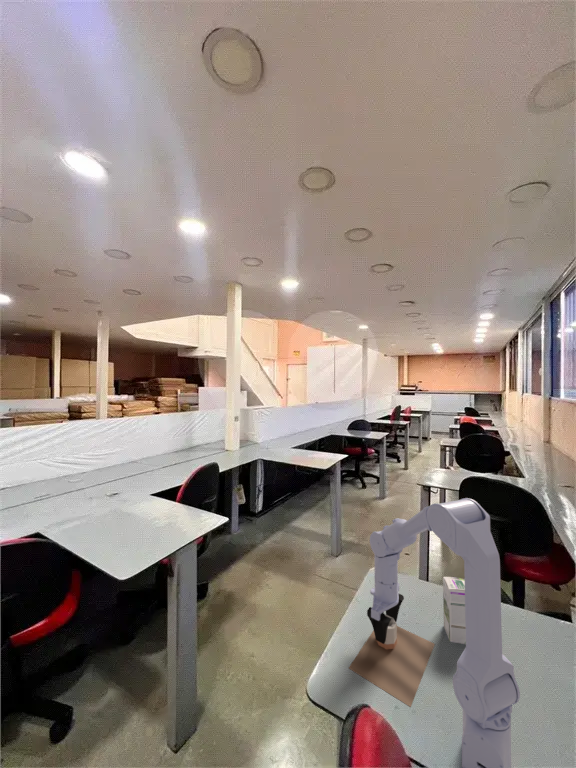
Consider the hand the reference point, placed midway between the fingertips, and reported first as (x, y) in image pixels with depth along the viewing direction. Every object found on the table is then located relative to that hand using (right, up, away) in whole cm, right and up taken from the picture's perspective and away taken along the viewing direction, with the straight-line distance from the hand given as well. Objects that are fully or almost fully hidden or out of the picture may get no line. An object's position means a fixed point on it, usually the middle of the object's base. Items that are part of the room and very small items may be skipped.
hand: (386, 631), depth 79 cm
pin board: (+1, -3, -4) cm, 5 cm away
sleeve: (0, -2, 0) cm, 2 cm away
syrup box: (+20, -4, +2) cm, 20 cm away
